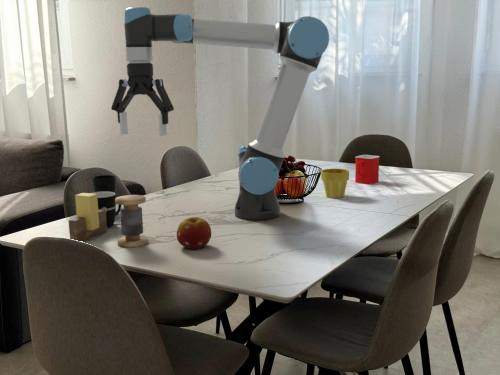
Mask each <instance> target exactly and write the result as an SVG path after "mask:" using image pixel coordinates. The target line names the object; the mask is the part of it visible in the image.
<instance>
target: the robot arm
mask: <svg viewBox="0 0 500 375" xmlns="http://www.w3.org/2000/svg"><path fill="white" fill-rule="evenodd" d="M123 26H124V35H125V55H126V57H125V58H126V59H125V60H126V62H128V63H127V64H126V73H127V78H128V79H126V78H124V79H123V78H121V79H119V80H118V88H117V91H116V93H115V96H114V99H113V102H112V105H111V106H110V107H111V111H115V112H116V113H117V122H118V124H119V127H120V129H119V130H120V135H122V136H123V135H127V134H129V128H128V114H127V112H126V109H127V107H128V106H129V104H130V103H131V101H132V100H133V98H134V97H136V95H141V96H142V95H144V96H145V95H146V96H147V97H148V98H150V100H151V101H152V102H153V104H154V105H155V106H156V108H157V109H158V111H160V113H158V125H159V126H158V127H159V128H158V130H159V132H158V133H159V137H163V136H167V135H168V134H167V125H168V124H169V113H170V112H172V111H174V110H175V108H174V105H173V104H172V101H171V99H170V96H169V94H168V92H167V90H166V88H165V86H164V81H163V79H162V78H156V79H154V64H153V63H152V62H153V42H172V43H174V44H195V45H206V46H207V45H208V46H221V47H223V46H224V47H232V48H233V47H234V48H244V49H245V48H247V49H260V50H272V51H273V52H274V53H275V54H280V55H279V58H280V61H281V66H280V69H279V72H278V74H277V78H276V80H275V83H274V86H273V89H272V92H271V94H270V97H269V101H268V103H267V106H266V109H265V111H264V115H263V116H262V119H261V123H260V125H259V128H258V131H257V133H256V137H255V139H254V140H253V141H250V142H249V143H248V145H241V146H240V147H239V148H238V154H237V156H238V176H237V177H238V180H239V181H238V182H239V185H238V186H239V192H238V193H239V194H238V195H237V199H236V203H235V204H234V205H235V206H234V216H235V217H237V218H239V219H244V220H252V221H253V220H255V221H256V220H257V221H258V220H269V219H270V220H271V219H276V218H277V217H279V216H280V215H281V206H280V204H279V200H278V197H277V193H276V189H275V188H276V186H277V184H278V182H279V176H280V175H279V173H280V171H281V167H282V164H283V162H284V159H285V154H284V151H283V147H284V144H285V143H286V139H287V137H288V134H289V131H290V129H291V126H292V123H293V120H294V117H295V114H296V112H297V109H298V108H299V107H298V106H299V104H300V101H301V98H302V96H303V92H304V90H305V87H306V84H307V82H308V79H309V77H310V74H312V73H313V72H315V71H317V69H318V67H319V64H320V61H321V58H322V56H323V54H324V53H325V52H326V51H327V48H328V46H329V42H330V34H329V30H328V27H327V26H326V24H325V23H324V22H323V21H322V20H321V19H319V18H317V17H314V16H310V15H309V16H308V15H307V16H301V17H299V18H297V19H296V20H294V21H277V22H276V23H275V24H269V23H258V22H257V23H256V22H242V21H241V22H239V21H228V20H227V21H226V20H214V19H202V18H201V19H198V18H192V15H190V14H187V13H186V14H184V13H178V14H177V13H174V14H173V13H172V14H152V13H151V9H150V8H149V7H144V6H135V7H134V6H133V7H132V6H131V7H127V8H126V9H124V23H123ZM154 86H155V89H156V90H155V89H154V88H153V87H154ZM127 87H129V88H128V89H127ZM158 95H159V96H158Z"/></svg>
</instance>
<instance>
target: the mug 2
mask: <svg viewBox="0 0 500 375" xmlns="http://www.w3.org/2000/svg"><path fill="white" fill-rule="evenodd" d="M354 158H355V168H354V169H355V174H354V178H355V179H354V182H355V183H357V184H365V185H373V184H376V183H378V182H379V172H380V170H379V169H380V156H379V155H371V154H361V155H357V156H355V157H354Z"/></svg>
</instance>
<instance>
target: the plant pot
mask: <svg viewBox="0 0 500 375" xmlns="http://www.w3.org/2000/svg"><path fill="white" fill-rule="evenodd" d="M349 179H350V170H348V169H346V168H335V167H334V168H326V169H322V170H321V171H320V180H321V181H322V183H323V188H324V193H325V196H326V198H331V199H341V198H344V196H345V194H346V188H347V183H348V181H349Z"/></svg>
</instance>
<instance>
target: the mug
mask: <svg viewBox="0 0 500 375" xmlns="http://www.w3.org/2000/svg"><path fill="white" fill-rule="evenodd" d="M91 193H92V194H97V200H98V209H105V210H106V222H107V229H108V228H111V227H113V226H114V225H115V221H116V217H117V216H118V215H119V214H120V209H121V208H122V205H118V204H116V203H115V198H117V197H118V196H116V195H117V194H116V192H115V193H114V192H95V191H93V192H91ZM117 206H118V207H117ZM116 208H117V209H116Z"/></svg>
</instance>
